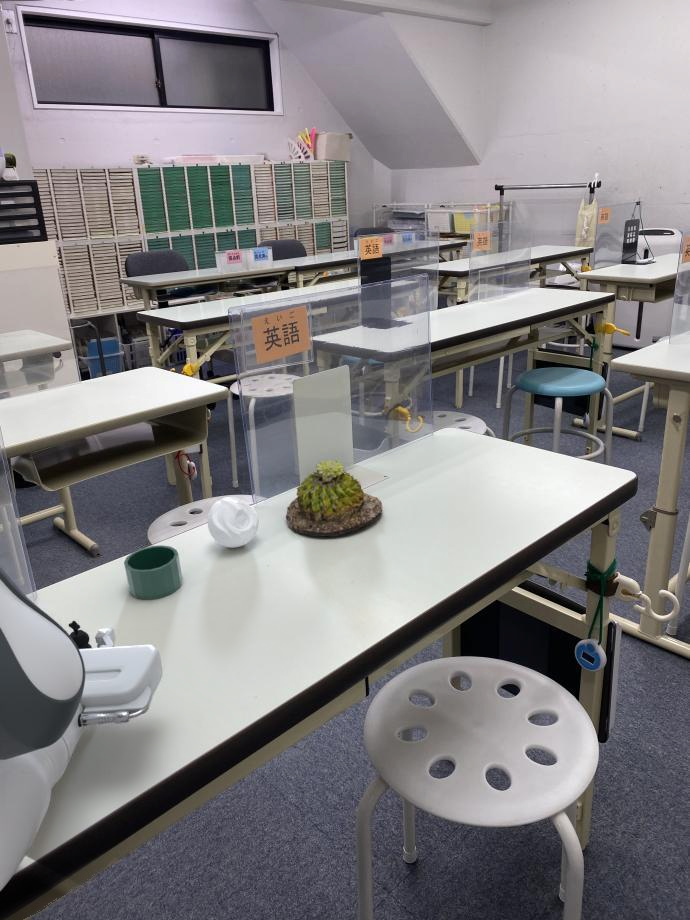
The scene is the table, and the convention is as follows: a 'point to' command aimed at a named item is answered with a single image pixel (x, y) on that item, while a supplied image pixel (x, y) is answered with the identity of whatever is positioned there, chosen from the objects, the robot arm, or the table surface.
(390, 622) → the table surface
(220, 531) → the white swirled ball
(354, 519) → the cactus
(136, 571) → the green round container
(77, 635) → the chess piece
